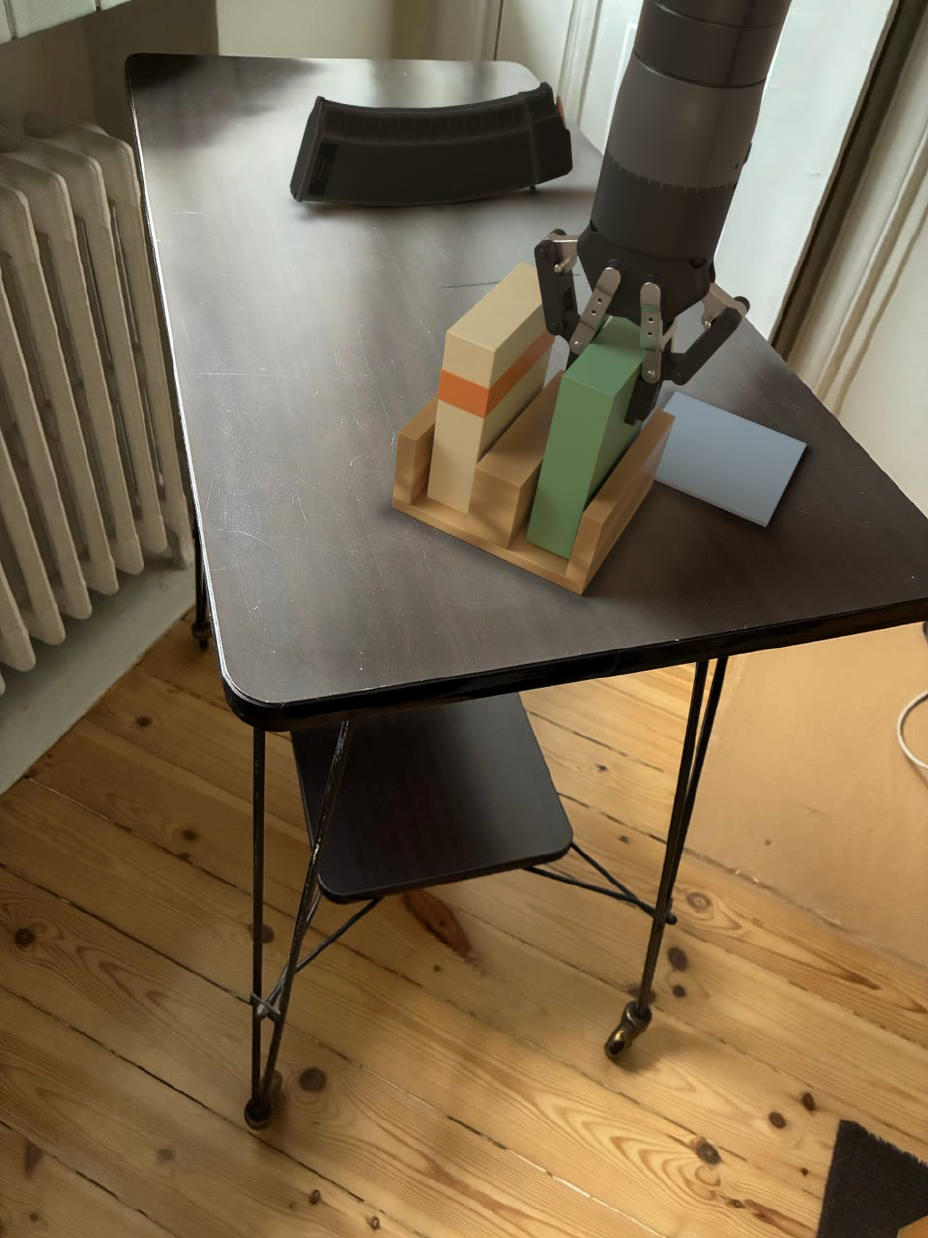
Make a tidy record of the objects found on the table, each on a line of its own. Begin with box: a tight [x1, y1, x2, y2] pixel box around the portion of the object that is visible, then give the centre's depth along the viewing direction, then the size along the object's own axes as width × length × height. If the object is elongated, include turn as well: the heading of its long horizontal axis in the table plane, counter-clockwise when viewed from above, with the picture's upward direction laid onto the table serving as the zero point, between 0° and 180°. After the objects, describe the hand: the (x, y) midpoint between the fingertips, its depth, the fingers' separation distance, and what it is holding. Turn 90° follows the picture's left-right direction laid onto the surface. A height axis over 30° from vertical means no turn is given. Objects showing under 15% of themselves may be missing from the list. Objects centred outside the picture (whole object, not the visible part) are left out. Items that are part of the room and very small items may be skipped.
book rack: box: [391, 368, 676, 596], centre depth 73 cm, size 16×14×7 cm
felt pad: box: [654, 391, 808, 528], centre depth 81 cm, size 12×12×1 cm
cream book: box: [427, 261, 556, 515], centre depth 70 cm, size 4×11×14 cm, turn 152°
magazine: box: [289, 81, 574, 207], centre depth 101 cm, size 17×3×30 cm
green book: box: [526, 316, 645, 560], centre depth 68 cm, size 4×11×14 cm, turn 152°
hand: (605, 406), depth 66 cm, fingers closed on green book, 3 cm apart
